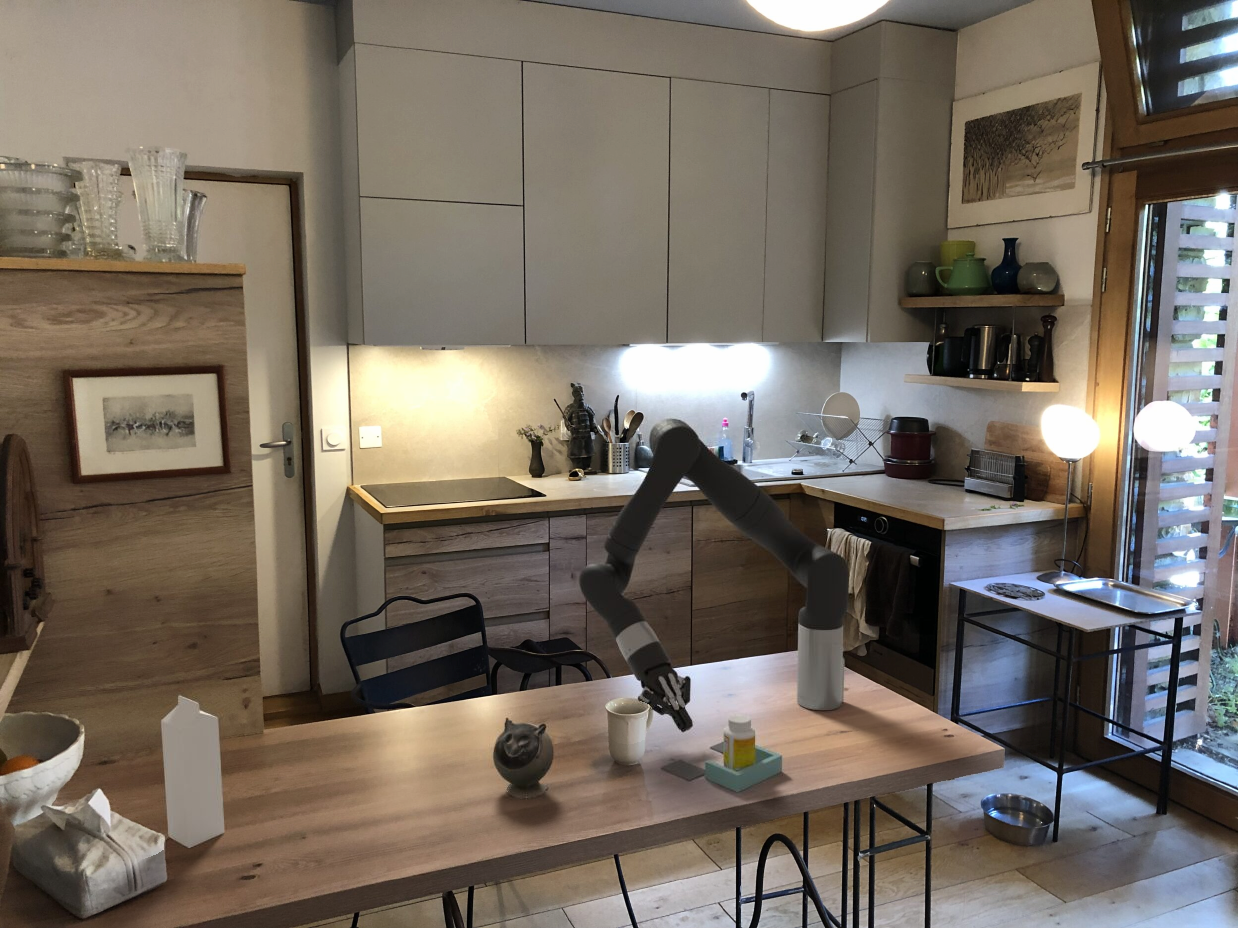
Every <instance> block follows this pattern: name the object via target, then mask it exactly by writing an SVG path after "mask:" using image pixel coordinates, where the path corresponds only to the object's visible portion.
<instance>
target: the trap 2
mask: <svg viewBox="0 0 1238 928" xmlns="http://www.w3.org/2000/svg"><path fill="white" fill-rule="evenodd" d="M709 749H711V750H714V751H716V752H718V753H721V754H723V755H724V741H721V742H719V743H717V744H713V745H712V746H710V747H709Z"/></svg>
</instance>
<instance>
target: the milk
mask: <svg viewBox="0 0 1238 928" xmlns="http://www.w3.org/2000/svg"><path fill="white" fill-rule="evenodd" d="M177 701H178V702H177V703H178V704H177V705H176V706H175V707H174V708H173V709H172V710H171V711H170V712H169V713H168V714H166V716H164V717H163V718H162V719H161V721H160V724H161V725H160V726H161V741H162V755H163V769H164V770H163V771H164V774H163V775H164V786H165V787H164V788H165V801H166V802H165V803H166V817H167V832H168V837H169V839H172V840H174V841H175V842H178V843H179V844H180V845H182V846H184V847H186V848H188V849H191V848H193V847H195V846H197V845H200V844H202V843H204V842H206V841H209V840H211V839H213V838H216V837H218V836H220V835H223V834H224V833H225V820H224V819H225V817H224V816H225V815H224V814H225V813H224V801H223V781H222V780H223V779H222V768H221V767H222V764H221V747H220V746H221V745H220V731H219V730H220V728H219V727H220V726H219V717H217V716H214V715H213V714H210V713H207V712H205V711H203V710H200V704H199V702H197V701H194V700H191V699H189V698H187V697H184V696H182V695H178V697H177Z"/></svg>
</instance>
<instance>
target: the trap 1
mask: <svg viewBox="0 0 1238 928" xmlns="http://www.w3.org/2000/svg"><path fill="white" fill-rule="evenodd" d="M660 769H661V770H664V771H666V772H667V773H670V774H672V775H674V776H676V777H678V778H681V779H683V780H685V781H688V782H691V781H693V780H695V779H697V778H700V777H702V776H705V768H700V767H699V766H696V765H694V764H692V763H690V762H688V761H685V760H683V759H680V758H679V759H677V760H675V761H673V762H670V763H667V764H666V765H663V766H661V767H660Z"/></svg>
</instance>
